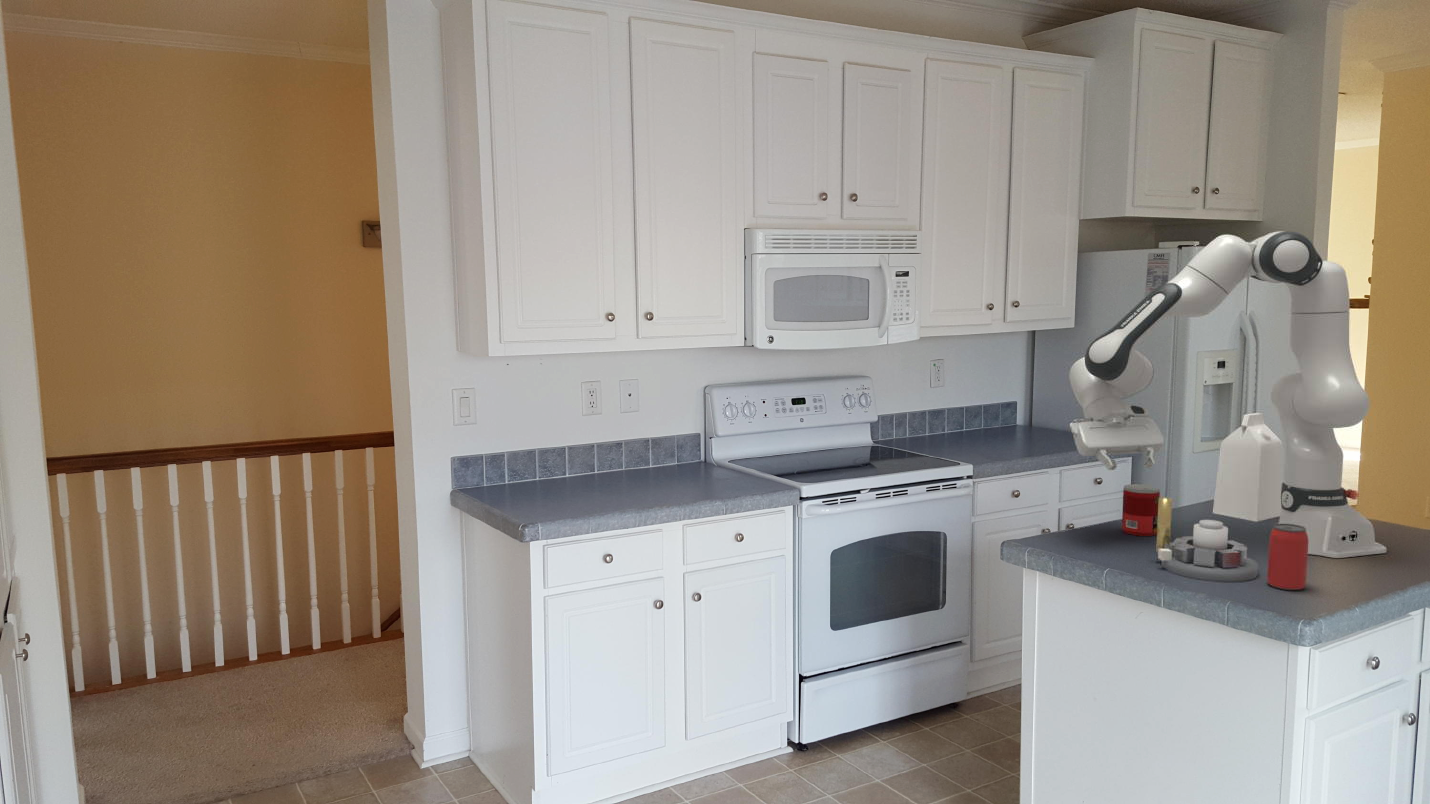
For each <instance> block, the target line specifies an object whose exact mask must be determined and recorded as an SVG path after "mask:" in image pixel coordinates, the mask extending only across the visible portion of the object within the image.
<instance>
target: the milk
mask: <svg viewBox="0 0 1430 804" xmlns="http://www.w3.org/2000/svg"><path fill="white" fill-rule="evenodd" d="M1219 447H1220V448H1219V456H1218V462H1217V463H1218V466H1217V473H1216V481H1215V482H1216V483H1215V488H1214V489H1215V490H1214V491H1215V492H1214V497H1213V499H1214V500H1213V508H1212V514H1216V515H1221V516H1226V517H1230V518H1236V519H1242V520H1245V521H1251V522H1255V523H1257V522H1262V521H1265V520H1269V519H1274V518H1278V517H1279V518H1280V514H1281V508H1282V506H1281V488H1282V483H1283V482H1284V444H1283V442H1282V441H1281V439H1280V438H1279V436H1277V435H1276V434H1275V432H1273V431H1272V430H1271V429H1270V427H1268V426H1267V425H1266V424H1265V420H1264V416H1263V413H1261V412H1256V413H1255V412H1254V413H1248V414H1247V413H1246V414H1244V415H1243V417H1242V422H1241V425H1240V427H1238V428H1237V429H1235V430H1234V431H1233V432H1231V433H1230V434H1229V435H1227V437H1225V438H1224V439H1223V440H1222V441H1221V443H1220V446H1219Z"/></svg>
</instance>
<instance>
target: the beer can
mask: <svg viewBox="0 0 1430 804" xmlns="http://www.w3.org/2000/svg"><path fill="white" fill-rule="evenodd" d="M1308 542H1309V540H1308V535H1307V533H1306V528H1305V527H1303V526H1300V525H1295V524H1278V523H1276V524H1274V525H1273V527H1272V529H1271V532H1270V534H1269V544H1268V545H1269V546H1268V561H1267V563H1268V564H1267V575H1266V576H1267V579H1266V581H1267V584H1269V585H1270V586H1271V587H1273V588H1276V589H1279V590H1282V591H1283V590H1285V591H1300V590H1303V589H1305V587H1306V585H1307V569H1308V558H1309V557H1308V556H1309V554H1308Z"/></svg>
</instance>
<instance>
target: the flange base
mask: <svg viewBox="0 0 1430 804" xmlns="http://www.w3.org/2000/svg"><path fill="white" fill-rule="evenodd" d="M1228 535H1229V528H1228V527H1227V526H1226V525H1224V523H1223V522H1222V521H1219V520H1215V519H1201V520H1199V523H1195V524H1193V533H1192V536H1193V546H1194V547H1197V548H1203V549H1211V550H1227V541H1228ZM1157 553H1158V554H1157V555H1158V556H1157V558H1158V559H1159V560H1161V567H1162V568H1163V569H1164V570H1166V571H1168V572H1170V573H1173V574H1175V575H1178V576H1181V577H1185V578H1190V579H1195V580H1200V581H1201V580H1202V581H1207V582H1208V581H1209V582H1222V583H1235V582H1245V581H1251V580H1254V579H1256V578H1257V576H1258V573H1259V564H1258V562H1257V561H1255V560H1254V559H1251V558H1249V557H1247V560H1246V563H1245V564H1244V565H1240V567H1227V568H1222V567H1220V566H1217V565H1215V567H1208V566H1201V565H1194V562H1189V563H1186V562H1183V561H1181V560H1179V559H1176V558H1175V556H1173V555H1172V551H1171V550H1169V549H1159V550H1158V552H1157Z"/></svg>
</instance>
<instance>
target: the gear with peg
mask: <svg viewBox="0 0 1430 804" xmlns="http://www.w3.org/2000/svg"><path fill="white" fill-rule="evenodd" d="M1172 504H1173V498H1172V497H1167V496H1160V497H1159V502H1158V523H1157V534H1156V547H1155V550H1156V551H1155V552H1156V553H1158V550H1159V549H1169V550H1171V551H1172V555H1173V556H1175V558H1176V559H1179V560H1181V561H1183V562H1186V563H1189V562H1194V565H1201V566H1208V567H1215V565H1217V566H1220V567H1222V568H1227V567H1240V565H1244V564H1245V563H1246V560H1247V555H1248V546H1246V544H1243V543H1240V542H1238V541H1234V540H1233V539H1232V540H1231V539H1230V540H1227V550H1211V549H1203V548H1197V547H1194V546H1193V535H1191V536H1181V537H1176V538H1175V539H1174V540H1173V542H1171V532H1172V531H1171V527H1172V511H1173V510H1172V508H1173V507H1172Z"/></svg>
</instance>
